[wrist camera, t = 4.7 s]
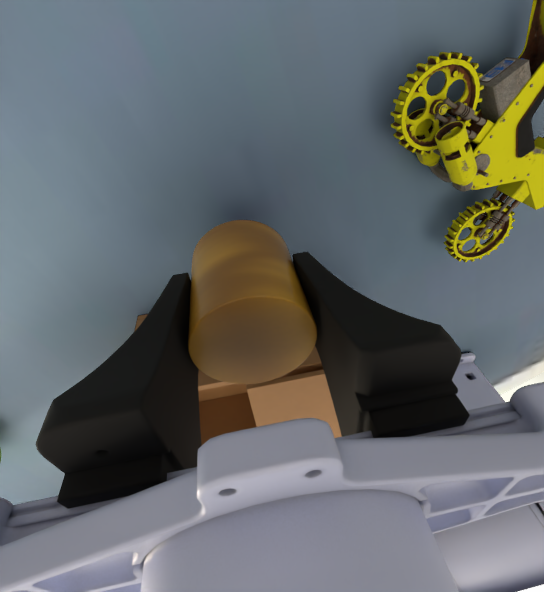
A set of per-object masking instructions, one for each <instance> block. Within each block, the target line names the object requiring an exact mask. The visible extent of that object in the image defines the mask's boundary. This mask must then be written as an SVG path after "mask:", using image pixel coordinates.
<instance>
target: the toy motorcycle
mask: <svg viewBox="0 0 544 592" xmlns="http://www.w3.org/2000/svg"><path fill="white" fill-rule="evenodd" d="M462 54H463V53H456V52H451V53H446V52H440V53H439V57H436V56H429V57H428V63H426V64H422V63H418V64H417V65H416V67H417V69H418V70H417V71H415V72H414V73H413V74H409V73H408V74H407V76H406V77H407V78H408V81H407V82H406V83H405V85H404V87H403V86H399V88H398V89H399V90H401V92H400V94H399V97H398V99H394V100H393V102H394V103H396V106H395V111H394V112H391V116H394V121H395V122H394V123H392V124H391V127H392V128H394V129H396V131H397V132H396V133H395V134H393V135H394V137H396V138H397V139H399V140H400V141H399V142H398V143H399V144H400V145H402V146H404V147H405V148H406V149H407V150H409V151H411V152H413V153H414V152H415V153H416V155H417V157H418V160H419V161H420V162H421V163H422V164H424V165H427V166H429V168H430V169H431V171H432V172H433V173H434V174H435V175H436V176H437V177H439V178H440V179H442V180H443V181H445V182H452V186H453V187H454V188H456V189H458V190H460V191H468V190H470V189H471V190H478V189H483V188H487V187H492V186H497V185H499V186H498V187H497V188H496V189H497V190H496V191H495V193H494V194H493V197H492V198H491V199H490V201H489V200H487V199H484V200H483V202H481V203H479V202H475V205H474V206H471V207H469V206H468V207H466V208H467V210H465V211H464V212H463V213H461V212H460V213H459V215H460V216H459V217H457V219H456V220H452V222H453V224H452V225H451V227H448V228H447V230H449V231H448V234H447V235H445V236H444V237H445V238H446V239H447V241H445V242H444V244H445V245H446V246H447V247H446V248H445V249H446V250H447V251H448V253H449V254H450V255H451V256H452V257H453V258H455V259H457V260H458V261H461V260H463V261H464V262H467V261H468V260H471V261H472V262H473V261H474V260H475V259H477V258H479V259H482V256H484V255H486V254H487V255H489V254H490V252H491V251H493V250H494V249H495V250H496V249H498V248H497V246H499V245H500V243H504V241H503V240H504V239H505V237H506V236H509V235H510V234H508V233H509V231H510V229H513V226H512V222H514V221H515V219H514V218H512V216H513V215H515V213H514V212H512V210H513V209H514V208H516V207H517V206H518V205H519V204H520V202H522V203H524V204H526V205H528V206H530V207H532V208H534V209H535V210H536V209H539V208H542V207H544V137H543V138H541V137H537V138H536V140H535V139H534V138H533V131H532V125H531V119H532V117H533V115H534V113H535V112H536V110H537V109H538V107H539V105H540V104H541V102H542V101H543V99H544V0H533V5H532V10H531V16H530V21H529V27H528V32H527V38H526V43H525V47H524V49H523V51H522V53H521V55H520V56H519V57H518V59H517V58H505V59H504V60H502V61H501V62H500V63H498V64H497V65H496V66H495V67H493V68H492V69H491V70H489V71H488V72H487V73H486V74H484V75H483V74H482V73H477V72H476V71H475V70H476V69H477V68H478V67H479V65H478V63H470V61H471V59H472V57H470V56H462ZM436 71H442V72H443V73H444V74H445V78H446V80H445V84H444V87H443V88H442V90H441V91H440V92H439V93H438V94H435V95H433V96H430V95H429V94H427V90H426V85H427V81H428V80H429V78H430V76H431V75H432V74H433V73H435V72H436ZM458 79H462V80H463V81H464V83H465V90H464V93H463V95H462V97H461V98H460V99H459V100H458V101H456V102H453V101H451V100H450V98H448V97H447V98H446V93H447V90H448V88H449V86H450V85H451V84H452V83H453V82H454V81H456V80H458ZM419 96H421V97H423V98H424V100H425V101H426V103H425V105H424V106H425V108H423V109H419V110H416V111H414V112H413V113H411V114H410V115H409V116H407V108H408V106H409V103H410V102H411V101H412V100H413V99H414V98H416V97H419ZM478 102H479V105H480V110H479V111H478V112H477V111H475V109H476V107H477V103H478ZM446 112H447V113H449V114H450V115H452V116H456V119H455V118H454V117H452V116H448V117H447V116H445V115H443V114H445V113H446ZM432 122H433V123H432ZM439 126H441V127H442V128H441V129H440V128H439ZM440 157H442V159H443V162H444V165H445V168H446V169H445V168H443V167H442V166H441V165H440V163H439V159H440ZM501 193H503V194H502V195H501V197H500V198H499V200H498V201H497V200H496V199H495V198H497V197H498V196H499V195H500V194H501ZM507 196H509V197H508V198H507ZM506 198H507V199H506ZM505 199H506V200H505ZM514 199H516V200H515V201H514V202H513V203H512V204H511V207H510V206H508V204H510V203H511V202H512V201H513V200H514ZM504 200H505V203H504V202H502V201H504ZM484 212H485V213H484ZM482 214H483V215H482ZM474 218H475V219H474ZM478 219H479V220H482V221H481V223H480V224H479V225H475V223H476V222H477V220H478ZM497 220H499V221H497ZM493 221H494V222H493ZM496 222H497V223H496ZM466 227H468V228H469V230H470V231H471V233H470V234H469V236H468V237H466V238H465V239H462V240H458V237H459V235H460V233H461V231H462V230H463V228H466ZM488 227H491V229H488ZM492 233H493V235H492V236H491V234H492ZM490 236H491V237H490ZM489 238H490V239H489ZM471 239H475V242H476V243H475V245H474V246H473V247H472V248H471V249H470V250H468V251H462V247H463V245H464V244H465V243H466V242H467V241H469V240H471ZM480 239H483V240H485V239H488V240H487V241H486V242H485V243H484V244H482V245H481V244H480Z"/></svg>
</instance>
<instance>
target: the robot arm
mask: <svg viewBox="0 0 544 592" xmlns="http://www.w3.org/2000/svg"><path fill="white" fill-rule="evenodd" d="M293 264H294V267H295V269H296V272H297V275H298V277H299V280H300V283H301V285H302V288H303V291H304V294H305V296H306V299H307V302H308V304H309V307H310V310H311V312H312V315H313V318H314V320H315V323H316V327H317V339H316V343H315V347H316V349H317V352H318V354H319V357H320V360H321V363H322V366H323V370H324V373H325V377H326V380H327V384H328V387H329V391H330V394H331V398H332V401H333V405H334V409H335V412H336V416H337V420H338V424H339V427H340V431H341V435H342V437H338V438H334V435H333V432H332V429H331V427H330V426H329V424H328V422H325V421H323V420H319V419H316V418H299V419H294V420H289V421H284V422H279V423H274V424H269V425H264V426H259V427H255V428H250V429H245V430H240V431H235V432H230V433H225V434H222V435H219V436H216V437H213V438H210V439H209V440H208V441H207V442H205V443H204V444H203V445H202V444H201V430H200V413H199V392H198V373H199V369H198V368H197V367H196V365H195V364H194V363H193V361H192V359H191V357H190V354H189V351H188V334H189V313H190V293H191V280H190V278H189V275H188V273H183V274H177V275H173V276H172V278H171V279H170V281H169V282H168V284H167V286H166V287H165V289H164V291H163V292H162V294H161V296H160V297H159V299H158V300H157V302H156V303H155V305H154V306H153V308H152V310H151V311H150V312H149V314H148V315H147V316H146V318H145V319H144V321H143V322H142V323H141V325H140V326H139V327H138V328H137V330H136V331H135V332H134V333H133V334H132V335H131V336H130V337H129V339H128V340H127V341H126V342H125V343H124V344H123V345H122V346H121V347H120V348H119V349H118V350H117V351H116V352H115V353H113V354H112V355H111V356H110V357H109V358H108V359H107V360H106V361H105V362H104V363H103V364H101V365H100V366H99V367H98V368H97V369H95V370H94V371H93V372H92V373H90V374H89V375H88V376H87V377H85V378H84V379H83V380H81V381H80V382H79V383H77V384H76V385H74V386H73V387H71V388H70V389H69V390H67V391H66V392H64V393H63V394H61V395H60V396H58V397H57V398H55V399H54V400H53V402H52V404H51V406H50V408H49V410H48V413H47V415H46V418H45V420H44V423H43V425H42V428H41V431H40V433H39V436H38V439H37V441H36V447H37V450H38V451H39V452H40V454H41V455H42V456H43V457H44V458H46V459H47V460H48V461H49V462H51V463H52V464H53V465H55V466H56V467H57V468H59V469H60V470H61V471H62V472H64V473H65V476H64V479H63V483H62V486H61V489H60V492H59V496H55V497H50V498H46V499H41V500H36V501H31V502H26V503H22V504H17V505H13V504H12V503H11V502H9V501H8V500H6V499H4V498H1V497H0V592H517V591H520V590H524V589H528V588H531V587H535V586H538V585H541V584H544V382H542V383H537V384H532V385H528V386H524V387H522V388H520V389H518V390H517V391H516V392H515V393H514V394H513V395H512V397H511V399H510V402H505V401H504V400H503V399H502V397H501V396H500V395H499V394H498V392H497V391H496V390H495V389H494V387H493V386H492V385H491V383H490V382H489V381H488V380H487V378H486V377H485V376H484V375H483V373H482V372H481V371H480V370H479V368H478V367H477V366H476V365H475V363H474V360H475V357H476V356H475V355H474V354H473V353H465V354H461V350H460V348H459V347H458V346H457V344H456V343H455V342H454V340H453V339H452V338H451V336H450V335H449V334H448V333H447V332H446V331H445V330H444V329H443V328H442V326H441V325H438V324H434V323H431V322H427V321H424V320H420V319H417V318H414V317H411V316H408V315H405V314H402V313H400V312H397V311H395V310H392V309H390V308H387V307H385V306H383V305H381V304H379V303H377V302H375V301H373V300H371V299H369V298H367V297H365V296H364V295H362V294H360V293H358V292H357V291H355V290H353V289H352V288H350V287H349V286H347V285H346V284H345V283H343V282H342V281H341V280H339V279H338V278H337V277H335V276H334V275H333V274H332V273H330V272H329V271H328V270H327V269H326V268H325V267H323V266H322V265H321V264H320V263H319V262H318V261H317V260H316V259H315V258H314V257H313V256H311V255H310V254H309V253H308V252H303V253H298V254H293Z"/></svg>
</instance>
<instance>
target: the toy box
mask: <svg viewBox="0 0 544 592" xmlns="http://www.w3.org/2000/svg"><path fill="white" fill-rule="evenodd" d="M147 315H148V314H146V315H141V316H138V318H137V322H136V327H135V331H136V330H137V328H138V327H139V326H140V325H141V323H142V322H143V321H144V319H145V318H146V316H147ZM135 331H134V332H135ZM198 392H199V413H200V430H201V444H202V445H203V444H204V443H205V442H207V441H208V440H209V439H210V438H213V437H216V436H219V435H222V434H225V433H230V432H235V431H240V430H245V429H250V428H255V427H259V426H264V425H269V424H274V423H279V422H284V421H289V420H294V419H299V418H316V419H319V420H323V421H325V422H328V424H329V426H330V427H331V429H332V432H333V435H334V438H338V437H342V435H341V431H340V427H339V424H338V420H337V416H336V412H335V409H334V405H333V401H332V398H331V394H330V391H329V387H328V384H327V380H326V377H325V373H324V370H323V366H322V363H321V360H320V357H319V354H318V352H317V349H316V347H315V346H314V348H313V350H312V352H311V354H310V355H309V356H308V358H307V359H306V360H305V361H304V362H303V363H302V364H301V365H300V366H298V367H297V368H296V369H294V370H293V371H291V372H289V373H288V374H286V375H284V376H281V377H279V378H276V379H273V380H270V381H266V382H262V383H256V384H232V383H226V382H223V381H219V380H216V379H214V378H211V377H210V376H208V375H206V374H205V373H203V372H202V371H201V370H199V373H198Z"/></svg>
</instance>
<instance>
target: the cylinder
mask: <svg viewBox="0 0 544 592" xmlns="http://www.w3.org/2000/svg"><path fill="white" fill-rule="evenodd" d="M316 339H317V327H316V323H315V320H314V318H313V315H312V312H311V310H310V307H309V304H308V302H307V299H306V296H305V294H304V291H303V288H302V285H301V283H300V280H299V277H298V275H297V272H296V269H295V267H294V264H293V261H292V259H291V256H290V253H289V250H288V248H287V245H286V243H285V241H284V240H283V238H282V237H281V236H280V235H279V234H278V233H277V232H276V231H275V230H274V229H272V228H271V227H269V226H267V225H265V224H262V223H260V222H256V221H251V220H234V221H229V222H226V223H223V224H220V225H218V226H216V227H214V228H213V229H211V230H210V231H208V232H207V233H206V234H205V235H204V236H203V237H202V238H201V239H200V241H199V242H198V244H197V245H196V247H195V250H194V253H193V257H192V272H191V293H190V313H189V334H188V351H189V354H190V357H191V359H192V361H193V363H194V364H195V365H196V367H197V368H198V369H199V370H201V371H202V372H203V373H205V374H206V375H208V376H210V377H211V378H214V379H216V380H219V381H223V382H226V383H232V384H256V383H262V382H266V381H270V380H273V379H276V378H279V377H281V376H284V375H286V374H288V373H289V372H291V371H293V370H294V369H296V368H297V367H298V366H300V365H301V364H302V363H303V362H304V361H305V360H306V359H307V358H308V356H309V355H310V354H311V352H312V350H313V348H314V346H315V343H316Z"/></svg>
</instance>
